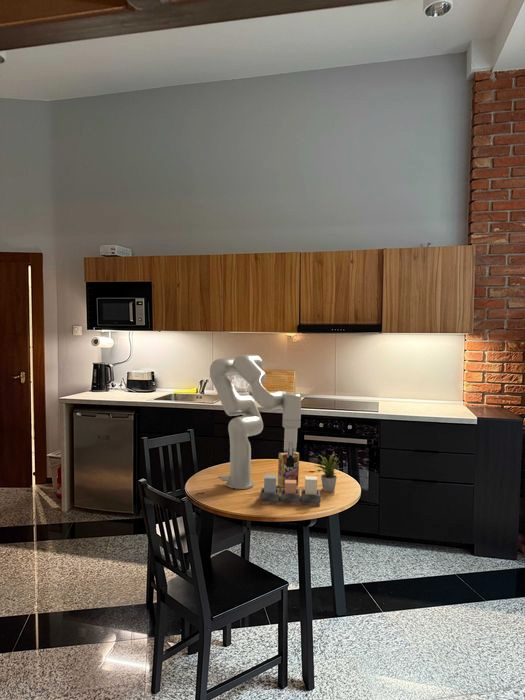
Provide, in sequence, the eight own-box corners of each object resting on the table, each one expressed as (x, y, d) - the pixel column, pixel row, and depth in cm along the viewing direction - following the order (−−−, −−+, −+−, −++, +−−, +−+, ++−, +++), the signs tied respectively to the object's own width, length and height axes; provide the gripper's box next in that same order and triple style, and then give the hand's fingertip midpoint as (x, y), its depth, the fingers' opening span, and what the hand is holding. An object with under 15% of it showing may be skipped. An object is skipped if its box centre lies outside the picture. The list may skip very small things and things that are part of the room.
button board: (260, 504, 205) (260, 494, 205) (261, 496, 215) (261, 486, 215) (320, 506, 204) (320, 496, 204) (319, 498, 214) (319, 488, 214)
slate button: (264, 494, 208) (264, 478, 207) (264, 491, 212) (264, 474, 212) (275, 495, 207) (275, 478, 207) (275, 491, 212) (276, 475, 212)
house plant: (316, 482, 235) (316, 448, 235) (345, 486, 231) (346, 450, 231) (309, 491, 222) (310, 455, 221) (340, 495, 218) (341, 458, 217)
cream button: (305, 496, 207) (305, 479, 206) (304, 492, 211) (305, 476, 211) (316, 496, 206) (317, 479, 206) (316, 492, 211) (316, 476, 211)
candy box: (281, 488, 227) (282, 454, 226) (277, 485, 231) (277, 452, 230) (298, 485, 230) (299, 453, 230) (294, 483, 234) (294, 450, 234)
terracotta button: (284, 499, 207) (284, 483, 207) (284, 496, 212) (284, 479, 212) (296, 500, 207) (296, 483, 207) (295, 496, 212) (296, 480, 211)
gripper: (282, 419, 216) (281, 461, 217) (282, 426, 201) (280, 471, 202) (300, 420, 216) (298, 462, 216) (300, 427, 201) (299, 472, 202)
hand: (290, 466), depth 209 cm, fingers closed
